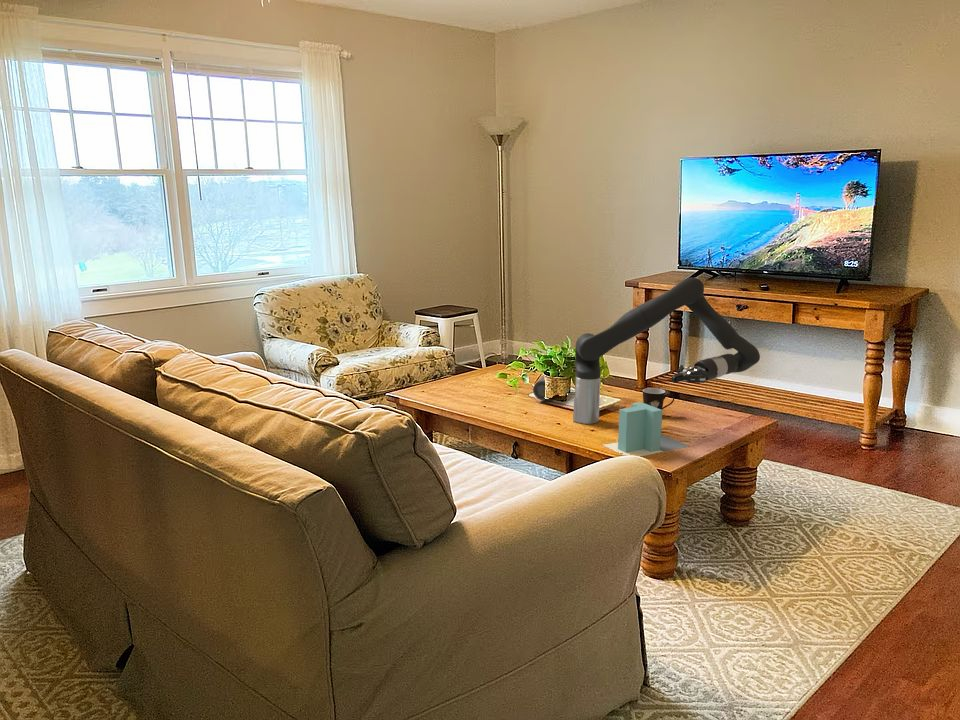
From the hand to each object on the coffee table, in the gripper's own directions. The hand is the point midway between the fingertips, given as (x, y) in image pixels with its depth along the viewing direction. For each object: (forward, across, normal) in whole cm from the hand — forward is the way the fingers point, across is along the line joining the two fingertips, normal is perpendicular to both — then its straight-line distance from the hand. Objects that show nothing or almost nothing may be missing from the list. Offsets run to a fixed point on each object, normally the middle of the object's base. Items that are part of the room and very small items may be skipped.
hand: (672, 379), depth 270 cm
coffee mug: (-14, -24, +27) cm, 39 cm away
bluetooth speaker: (+8, -67, +29) cm, 73 cm away
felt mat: (+13, +3, +21) cm, 25 cm away
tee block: (+18, +4, +20) cm, 27 cm away
